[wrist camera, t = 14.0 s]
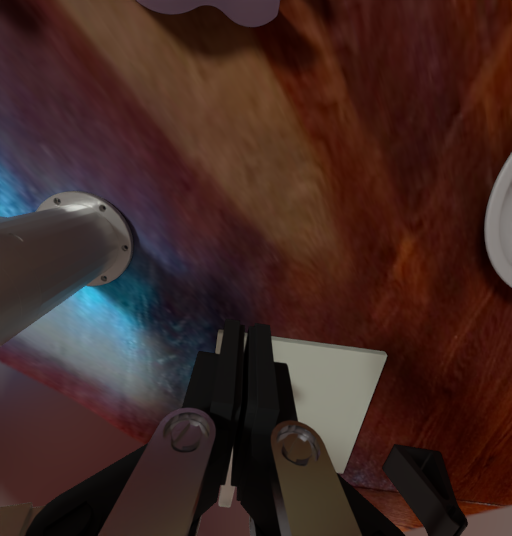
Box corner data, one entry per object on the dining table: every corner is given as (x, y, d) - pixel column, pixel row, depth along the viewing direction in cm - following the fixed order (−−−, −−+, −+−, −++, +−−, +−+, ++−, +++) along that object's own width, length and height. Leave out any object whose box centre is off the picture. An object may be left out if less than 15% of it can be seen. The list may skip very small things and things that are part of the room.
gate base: (202, 453, 51) (188, 529, 41) (218, 329, 43) (207, 384, 32) (341, 468, 53) (364, 545, 42) (384, 351, 44) (426, 410, 34)
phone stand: (381, 466, 53) (416, 548, 42) (393, 443, 51) (433, 522, 40) (425, 473, 54) (471, 555, 43) (439, 451, 52) (491, 530, 41)
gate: (240, 366, 43) (237, 410, 36) (252, 367, 43) (251, 412, 36) (223, 452, 49) (218, 506, 42) (234, 453, 50) (230, 507, 42)
